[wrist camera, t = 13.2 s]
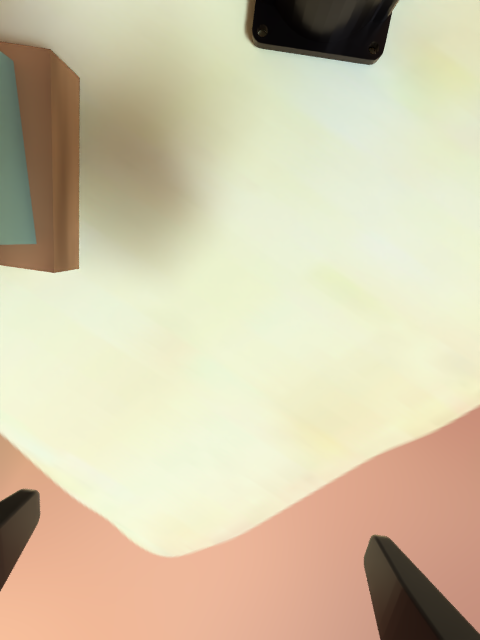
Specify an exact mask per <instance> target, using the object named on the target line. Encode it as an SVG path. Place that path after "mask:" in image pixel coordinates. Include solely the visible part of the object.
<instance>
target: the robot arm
mask: <svg viewBox="0 0 480 640" xmlns="http://www.w3.org/2000/svg"><path fill="white" fill-rule="evenodd" d="M398 1H399V0H256V3H255V11H254V20H253V28H252V40H253V42H254V44H255V45H256V46H257V47H259V48H262V49H269V50H275V51H282V52H288V53H295V54H301V55H308V56H315V57H321V58H328V59H334V60H341V61H347V62H354V63H360V64H367V65H370V64H374V63H375V62H376V61H377V60H378V59H379V58H380V56H381V55H382V53H383V51H384V47H385V43H386V38H387V33H388V29H389V24H390V19H391V15H392V11H393V9H394V8H395V6H396V4H397V3H398ZM260 30H264V31H266V33H267V35H266V36H265V37H260V36H259V35H258V32H259V31H260ZM369 47H373V48H375V50H376V54H371V53H370V52H369ZM39 518H40V495H39V492H38V491H37V490H31V489H21V490H19V491H17V492H15V493H14V494H12V495H10V496H9V497H7V498H5V499H4V500H2V501H0V591H1V589H2V587H3V585H4V584H5V582H6V580H7V579H8V577H9V575H10V573H11V571H12V569H13V567H14V566H15V564H16V562H17V560H18V558H19V557H20V555H21V553H22V551H23V549H24V548H25V546H26V544H27V542H28V540H29V538H30V537H31V535H32V533H33V531H34V529H35V528H36V526H37V524H38V521H39ZM364 568H365V572H366V577H367V581H368V586H369V591H370V595H371V599H372V604H373V609H374V613H375V618H376V622H377V626H378V631H379V635H380V639H381V640H480V634H479V633H478V632H477V631H476V630H475V629H474V627H473V626H472V625H471V624H470V623H469V622H468V621H467V620H466V619H465V618H464V617H463V616H462V615H461V614H460V613H459V611H458V610H457V609H456V608H455V607H454V606H453V605H452V604H451V603H450V602H449V601H448V600H447V599H446V598H445V597H444V596H443V594H442V593H441V592H439V590H438V589H437V588H436V587H435V586H434V585H433V584H432V583H431V582H430V581H429V580H428V578H427V577H426V576H425V575H424V574H423V573H422V572H421V571H420V570H419V569H418V568H417V567H416V566H415V565H414V564H413V563H412V561H411V560H410V559H409V558H408V557H407V556H406V555H405V554H404V553H403V552H402V551H401V550H400V549H399V548H398V547H397V545H396V544H395V543H394V542H393V541H392V540H391V539H390V538H388V537H386V536H380V535H373V536H371V538H370V541H369V544H368V547H367V550H366V553H365V556H364Z"/></svg>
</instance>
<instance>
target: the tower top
mask: <svg viewBox="0 0 480 640" xmlns="http://www.w3.org/2000/svg"><path fill="white" fill-rule="evenodd" d="M13 244H37V243H36V235H35V227H34V219H33V211H32V203H31V196H30V188H29V180H28V172H27V164H26V156H25V148H24V140H23V132H22V125H21V117H20V109H19V101H18V93H17V86H16V78H15V70H14V62H13V60H11V59H10V58H9V57H7V56H6V55H5V54H4V53H2V52H1V51H0V245H13Z"/></svg>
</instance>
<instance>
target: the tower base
mask: <svg viewBox="0 0 480 640" xmlns="http://www.w3.org/2000/svg"><path fill="white" fill-rule="evenodd" d="M0 51H1V52H2V53H4V54H5V55H6V56H7V57H9V58H10V59H11V60H13V62H14V70H15V78H16V86H17V93H18V101H19V109H20V117H21V125H22V132H23V140H24V148H25V156H26V164H27V172H28V180H29V188H30V196H31V203H32V211H33V219H34V227H35V235H36V243H37V244H13V245H0V265H3V266H10V267H17V268H24V269H31V270H38V271H45V272H52V273H56V272H62V271H68V270H74V269H79V84H80V78H79V77H78V76H77V75H76V74H75V73H74V72H73V71H72V70H71V69H70V68H69V67H68V66H67V65H66V64H65V63H64V62H63V61H62V60H61V59H60V58H59V57H58V56H57V55H56V54H55V53H54V52H53V51H51V50H50V49H45V48H38V47H32V46H25V45H19V44H13V43H6V42H0Z"/></svg>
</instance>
